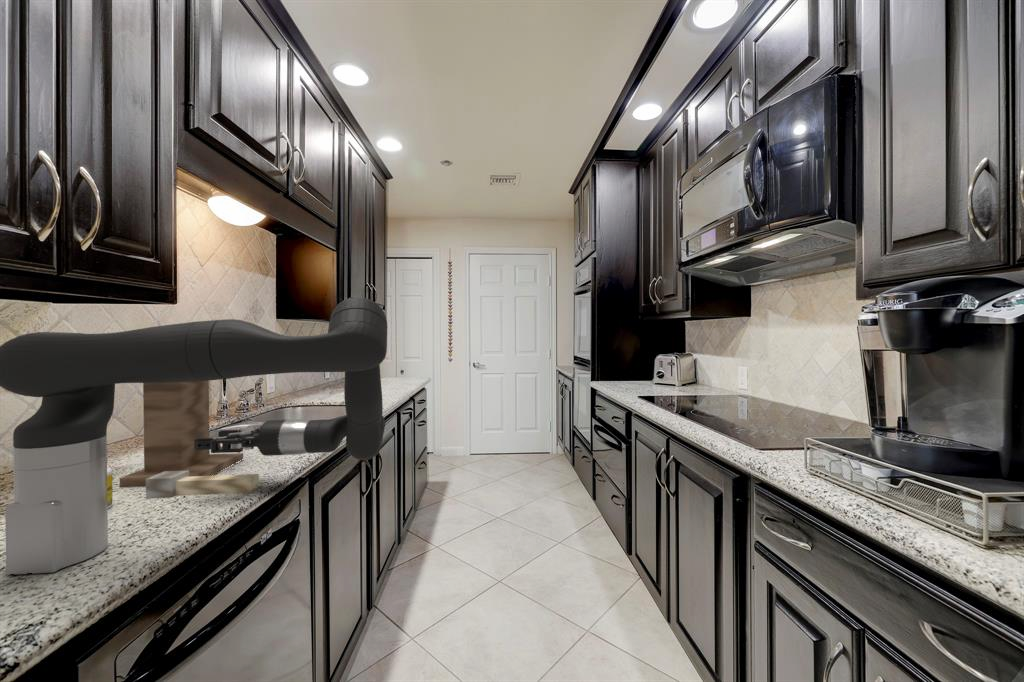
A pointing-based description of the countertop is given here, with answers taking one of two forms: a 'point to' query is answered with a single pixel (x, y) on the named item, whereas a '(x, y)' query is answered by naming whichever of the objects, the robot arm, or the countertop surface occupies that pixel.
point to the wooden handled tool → (198, 484)
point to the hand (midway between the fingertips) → (208, 439)
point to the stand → (177, 432)
